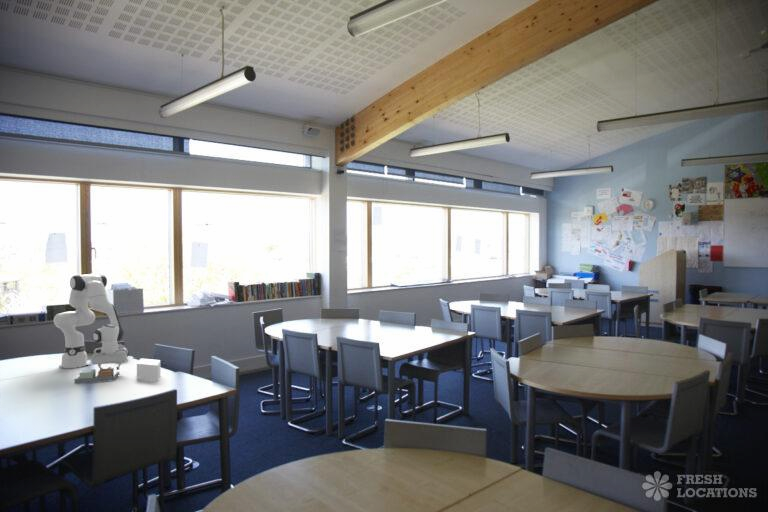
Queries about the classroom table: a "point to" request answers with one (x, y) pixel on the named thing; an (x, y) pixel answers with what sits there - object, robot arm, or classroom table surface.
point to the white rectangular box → (148, 369)
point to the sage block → (88, 373)
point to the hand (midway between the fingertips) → (109, 370)
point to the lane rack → (96, 379)
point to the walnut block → (106, 372)
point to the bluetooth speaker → (122, 348)
